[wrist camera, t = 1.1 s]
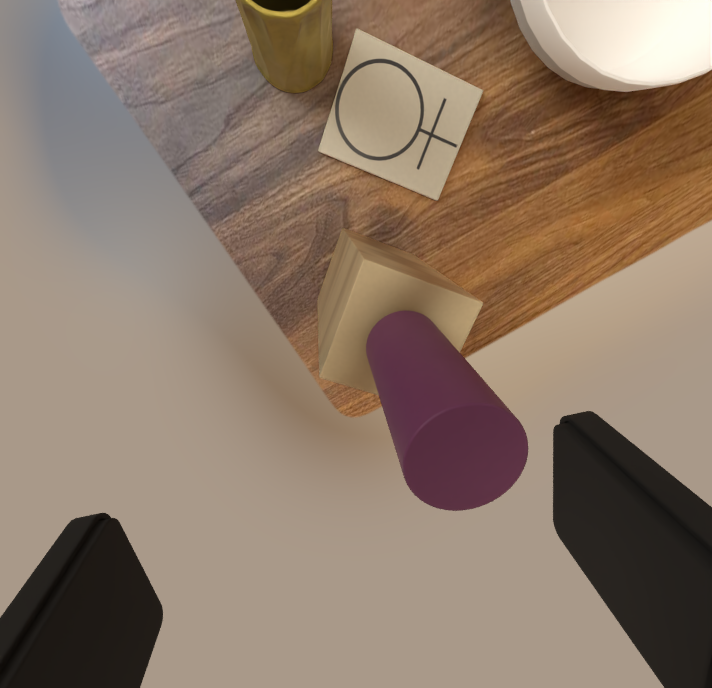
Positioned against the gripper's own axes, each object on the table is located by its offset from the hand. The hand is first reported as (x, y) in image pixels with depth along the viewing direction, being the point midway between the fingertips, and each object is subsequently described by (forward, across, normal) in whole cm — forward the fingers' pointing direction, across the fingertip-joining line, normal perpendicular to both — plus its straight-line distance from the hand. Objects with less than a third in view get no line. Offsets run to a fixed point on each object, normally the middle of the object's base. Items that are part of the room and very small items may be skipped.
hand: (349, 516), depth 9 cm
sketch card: (+31, -9, -10) cm, 34 cm away
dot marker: (+14, -4, +2) cm, 15 cm away
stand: (+31, -4, +2) cm, 31 cm away
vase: (+31, -1, -16) cm, 35 cm away
